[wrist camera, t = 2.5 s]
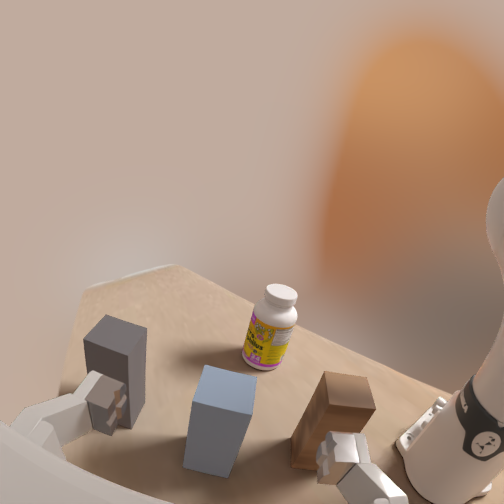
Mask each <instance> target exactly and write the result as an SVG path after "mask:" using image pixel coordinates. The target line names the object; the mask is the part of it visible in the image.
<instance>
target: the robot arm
mask: <svg viewBox="0 0 504 504" xmlns="http://www.w3.org/2000/svg"><path fill="white" fill-rule="evenodd" d="M486 229H487V236H488V240H489V243H490V247H491V249H492V252H493V253H494V255H495V257H496V259H497V262H498V264H499V267H500V270H501V273H502V277H503V282H504V178H503V179H502V180H501V181H500V182H499V183H498V185H497V186H496V187H495V189H494V191H493V193H492V195H491V197H490V200H489V203H488V208H487V214H486ZM126 390H127V388H126V384H125V383H122V382H120V381H117V380H115V379H112V378H110V377H108V376H105V375H103V374H100V373H98V372H96V371H93V370H92V371H91V372H89V373H88V375H87V376H86V377H85V379H84V380H83V381H82V383H81V384H80V385H79V386H78V388H77V389H76V390H75V392H74V393H73V394H71V393H68V394H65V395H62V396H59V397H57V398H54V399H51V400H48V401H45V402H42V403H38V404H35V405H32V406H29V407H26V408H24V409H23V410H22V412H21V413H20V414H19V415H18V417H17V418H16V419H15V420H14V421H13V423H12V424H11V425H10V426H8V425H6V424H5V423H3V422H2V421H1V420H0V504H174V503H171V502H167V501H164V500H161V499H157V498H154V497H151V496H148V495H145V494H142V493H139V492H137V491H134V490H131V489H128V488H126V487H123V486H121V485H118V484H116V483H113V482H111V481H108V480H106V479H104V478H101V477H99V476H97V475H94V474H92V473H90V472H88V471H86V470H84V469H82V468H80V467H78V466H75V465H73V464H72V463H70V462H68V461H66V457H65V455H64V453H63V450H62V448H61V447H62V446H64V445H66V444H68V443H70V442H71V441H73V440H75V439H77V438H79V437H81V436H83V435H85V434H86V433H88V432H90V431H92V430H93V429H94V430H97V431H99V432H102V433H104V434H107V435H110V436H112V435H113V433H114V431H115V429H116V428H117V426H118V422H117V419H120V418H122V416H123V415H124V413H125V410H126V407H127V397H126V395H125V392H126ZM396 446H397V448H398V450H399V452H400V453H401V455H402V456H403V459H404V463H405V469H406V473H407V476H408V478H409V480H410V482H411V484H412V485H413V487H414V488H415V489H416V490H417V492H418V493H419V494H420V495H422V496H423V497H424V498H425V499H427V500H429V501H430V502H432V503H434V504H464V503H466V502H467V501H469V500H470V499H472V498H474V497H478V496H483V495H486V494H487V493H488V492H489V491H490V490H491V487H492V481H493V480H494V479H495V478H496V477H497V475H498V474H499V473H500V472H501V471H502V470H503V469H504V315H503V320H502V323H501V327H500V329H499V332H498V334H497V336H496V339H495V341H494V343H493V345H492V347H491V349H490V351H489V353H488V355H487V357H486V359H485V361H484V363H483V364H482V366H481V368H480V369H479V371H478V373H477V374H475V375H473V376H472V377H471V378H470V380H469V381H467V383H466V384H465V385H464V387H463V388H462V390H460V391H456V392H455V393H454V394H453V396H452V397H451V398H450V399H449V401H446V400H445V399H444V398H442V397H440V396H439V397H438V399H437V400H436V401H435V403H434V404H433V405H432V406H431V407H430V408H429V409H428V410H427V411H426V412H425V413H424V414H423V415H422V416H421V417H420V418H419V419H418V420H417V421H416V422H415V423H414V424H413V425H412V426H411V427H410V428H409V429H408V430H407V431H406V432H405V433H404V434H403V435H402V436H401V437H400V438H399V439H397V441H396ZM316 463H317V464H318V465H319V466H320V467H319V469H318V470H317V484H329V485H337V488H338V489H339V490H340V492H341V493H342V495H343V496H344V498H345V499H346V500H347V502H348V503H349V504H409V502H408V498H407V495H406V494H405V493H404V492H403V491H402V490H401V489H400V488H399V487H398V486H397V485H396V484H395V483H394V482H393V481H391V480H390V479H389V478H388V477H387V476H386V475H385V474H384V473H383V472H382V471H381V470H380V469H379V467H378V466H377V465H376V464H375V463H371V459H370V454H369V450H368V445H367V441H366V436H365V435H364V434H362V433H350V432H336V431H329V432H328V433H327V434H326V436H325V441H323V442H321V443H320V445H319V447H318V450H317V453H316Z"/></svg>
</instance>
